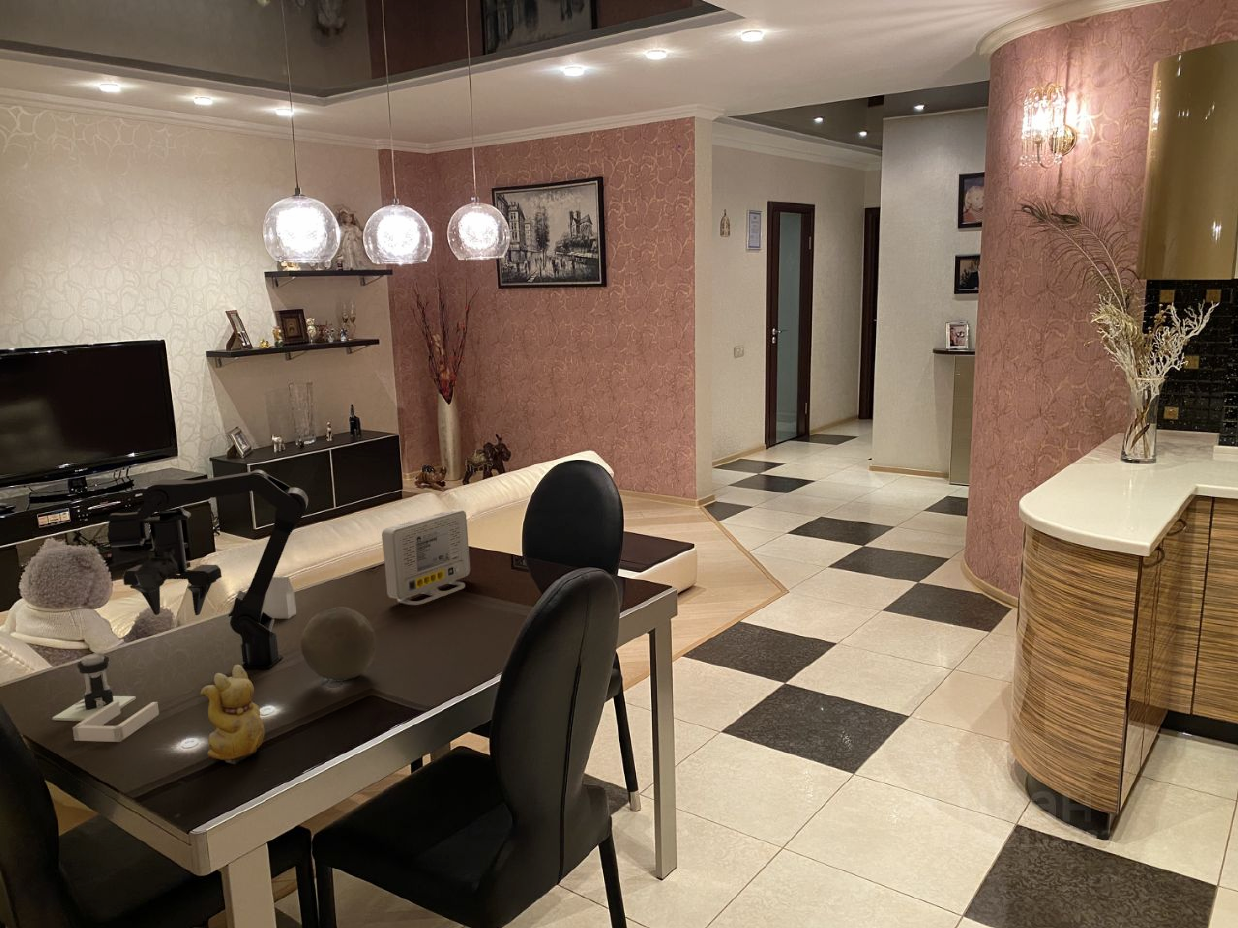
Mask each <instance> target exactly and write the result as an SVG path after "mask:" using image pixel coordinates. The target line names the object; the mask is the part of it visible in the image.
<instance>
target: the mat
mask: <svg viewBox="0 0 1238 928" xmlns="http://www.w3.org/2000/svg"><path fill="white" fill-rule="evenodd" d="M136 697H137V696H136V695H134V696H133V695H132V696H131V695H113V700H114V701H119V706H120V710H121V709H122V708H124V707H126V706H127V705H128V704H130V703H131V702H133V701H134V700H136V699H137V698H136ZM81 701H85V700H84V698H83V699H80V700H79V701H78V702H81ZM78 702H76V703H77V704H78V705H75V703H74V704H73V705H71V706H69V707H68V708H66V709H64V710H63V711H61V712H60V713H57V714H56V715H54V716H53V717H52V721H60V722H61V721H70V722H71V721H72V722H82V721H83V720H85V719H87V718H88V717H90V716H91V715H93V714H94V713H96V712H98V711H99V710H101V709H102V708H104V707H105V706H103V707H100V708H94V709H90V710H87V709H86V707H85V708H80V709H76V708H77V707H81V706H84V705H85V703H83V704H79V703H78ZM106 706H107V705H106Z"/></svg>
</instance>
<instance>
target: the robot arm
mask: <svg viewBox="0 0 1238 928" xmlns="http://www.w3.org/2000/svg"><path fill="white" fill-rule="evenodd" d="M249 492H255V493H256V494H258V495H259V496H260V497H261V498H262V499H264V500H265V501H266V502H267V503H269V505H271V506H273V507H274V508H276V509H275V513H274V514H275V515H274V520H273V527H272V530H271V534H270V536H269V539H268V541H267V544H266V545H265V548H264V551H263V553H262V556H261V558H260V560H259V563H258V565H257V568H256V571H255V573H254V575H253V578H252V581H251V582H250V585H249V587H248V588H247V589H246V591H245V592H244V591H242V590H239V591H238V592H237V594H236V597H235V600H234V602H233V603H234V604H233V605H232V607H231V609H230V611H229V612H228V617H230V621H229V623H230V624H229V625H230V627H231V629H232V631H233V632H235V633H236V634H237V635H239V636H240V637H241V644H240V651H241V661H242V664H241V665H240V666H242V667H243V669H254V670H255V669H256V670H257V669H259V670H260V669H261V670H263V669H264V670H267V669H270V668H271V667H273V666H274V665H275V664H277V663H278V662H279V661H280V660H282V659H283V658H284V657H283V655H282V654H281V655H280V654H279V646H278V645H279V644H278V638H277V637H278V636H277V633H276V632H272V630H273V627H274V626H273V625H274V623H275V618H272V617H271V616H269V615H268V614H266V613H265V612H263V610H264V605H265V599H266V593H267V590H268V587H269V585H270V582H271V580H272V577H274V575H275V572H276V570H277V566H278V565H279V562H280V559H281V557H282V555H283V552H284V550H285V548H286V544H287V543H288V541H289V537H290V536H291V534H292V532H293V531H294V529H296V527H297V525H298V524H299V522H300V521H301V519H302V518H303V516H304V515H305V512H306V510H307V507H308V503H309V497H308V495H307V493H306V492H305V491H304V490H303V489H301V488H299V487H291V486H290V485H288V484H286V483H285V482H283V481H281V480H279V479H277V478H275V477H273V476H271V475H270V474H268V473H267V472H265V471H264V470H262V469H255V470H253V471H249V472H242V473H234V474H229V475H228V474H227V475H222V476H217V477H216V476H215V477H210V478H209V477H208V478H204V479H197V480H187V479H160V480H157V481H155V482H154V483H153V484H151V485H150V486H148V487H147V489H146V490H145V491H144V494H143V502H144V503H143V504H142V505H141V507H140V508H138V510H137V511H135V512H125V513H124V512H122V513H120V512H113V513H111V514H110V515H108V526H107V527H108V529H107V531H108V532H107V534H106V535H107V541H108V544H109V546H110V547H111V548H119V547H121V548H122V547H129V546H138V545H139V546H140V545H144V543H145V541H146V540H149V539H150V536H151V543H152V548H151V549H149V550H148V560H146V561H145V562H144V563H143V564H138V565H136V566H134V567H132V568H129V569H127V570H125V571H124V573H123V575H122V580H123V585H124V586H129V588H130V589H133V590H136V591H138V592H140V593H141V595H142V596H143V598H144V599H145V601H146V602H147V605H148V606H149V607H150V609H151V611H152V613H153V615H155V616H158V615H159V614H160V611H161V596H160V595H161V586H163V585H164V583H165V582H166V580H187V582H188V583H189V584H190V585H189V586H187V589H188V590H189V591H190V592H191V596H192V604H193V611H194V615H195V616H199V615H200V614H201V612H202V609H203V606H204V603H205V600H206V598H207V594H208V593H209V591H210V588H211V586H212V584H214V583H215V582H217V580H218V579H221V578H222V570H221V568H220V566H219V565H218V564H201V565H199V566H197V567H195V568H193V569H189V568H190V567H191V562H190V561H187V560H186V552H185V549H188V548H189V545H188V542H184V535H183V528H182V527H183V526H182V521H186V520H188V519H189V518H190V517H191V516H192V513H191V512H189V511H187V510H185V509H184V508H183V506H185V505H187V504H190V503H192V502H195V501H201V500H206V499H213V498H217V497H224V496H231V495H237V494H242V493H249ZM176 508H177V510H174V509H176ZM171 510H174V511H171ZM155 513H160V514H159V516H154V517H153V515H154V514H155ZM151 516H152V517H151Z"/></svg>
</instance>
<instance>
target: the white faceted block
mask: <svg viewBox="0 0 1238 928" xmlns="http://www.w3.org/2000/svg"><path fill="white" fill-rule="evenodd" d="M263 612H265V613H266V614H268V615H269V616H271V617H272V618H273V619H291V618H292V617H293V616H294V615H296V614H297V607H296V598H295V590H294V588H293V586H292V583H291V581H290V577H289V576H273V577H272V580H271V582H270V585H269V587H268V590H267V593H266V599H265V605H264V610H263Z"/></svg>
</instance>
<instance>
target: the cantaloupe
mask: <svg viewBox="0 0 1238 928" xmlns="http://www.w3.org/2000/svg"><path fill="white" fill-rule="evenodd" d="M300 649H301V653H302V656H303V658H304V661H305V662H306V665H307V666H308V667H309V668H310V669H311V670H312V671H314V672H315V673H316V674H317V675H319V676H320V677H322V678H324V679H328V680H332V681H334V682H341V681H343V682H344V681H346V680H351V679H353V678H356V677H358V676H359V675H361V674H362V673H364V672H365V670H366V669H368V668H369V667H370V665H371V664H372V662H373V660H374V658H375V655H376V651H377V637H376V634H375V630H374V627H373V626H372V624H371V623H370V621H369V620H368V619H367V617H365V616H364V615H363V614H361V613H360V612H358V611H357V610H355V609H354V608H353V609H352V608H350V607H346V606H345V607H344V606H337V607H333V608H328V609H325V610H322V611H320V612H318V613H317V614H314V616H313V617H312V618H310V620H309V621H308V623H307V625H306V627H305V628H304V629H303V631H302V634H301V639H300Z"/></svg>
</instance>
